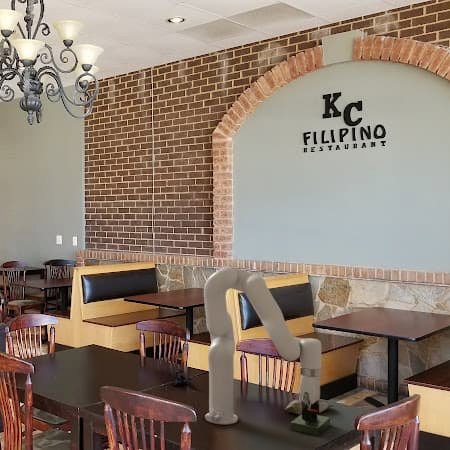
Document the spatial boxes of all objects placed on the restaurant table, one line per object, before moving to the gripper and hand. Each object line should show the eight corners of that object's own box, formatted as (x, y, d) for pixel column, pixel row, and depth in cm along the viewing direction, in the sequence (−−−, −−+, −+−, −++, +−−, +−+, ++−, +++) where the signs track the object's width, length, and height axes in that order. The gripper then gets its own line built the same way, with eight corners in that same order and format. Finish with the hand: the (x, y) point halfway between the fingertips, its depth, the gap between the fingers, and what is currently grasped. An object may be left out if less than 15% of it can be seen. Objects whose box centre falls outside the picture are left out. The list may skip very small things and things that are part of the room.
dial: (302, 420, 232) (302, 409, 232) (306, 416, 236) (306, 406, 236) (315, 422, 229) (315, 412, 229) (319, 419, 233) (319, 408, 233)
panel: (317, 435, 224) (318, 427, 224) (290, 430, 230) (290, 421, 230) (330, 425, 235) (330, 417, 235) (303, 420, 241) (303, 412, 241)
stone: (290, 405, 245) (282, 390, 254) (286, 418, 247) (278, 403, 257) (340, 409, 247) (330, 394, 256) (336, 422, 249) (326, 406, 259)
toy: (180, 388, 284) (166, 380, 298) (195, 388, 286) (181, 380, 301) (181, 374, 284) (167, 367, 299) (196, 374, 287) (182, 367, 301)
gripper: (308, 365, 242) (308, 409, 242) (292, 375, 228) (292, 421, 228) (327, 368, 237) (327, 412, 237) (313, 378, 223) (313, 425, 224)
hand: (310, 416), depth 233 cm, fingers open, 9 cm apart
